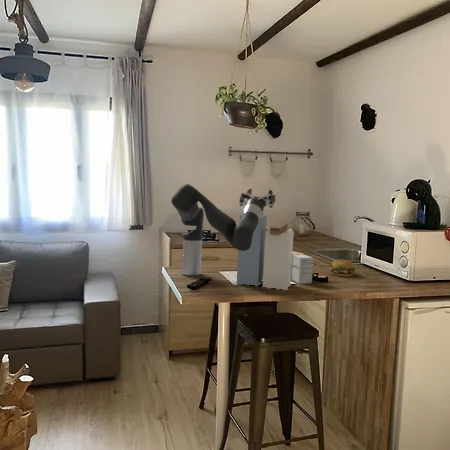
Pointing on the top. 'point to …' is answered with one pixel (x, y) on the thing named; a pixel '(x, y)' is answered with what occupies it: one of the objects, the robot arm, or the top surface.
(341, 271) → the food
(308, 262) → the supplement box
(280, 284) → the end-cap post
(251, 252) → the slate stand
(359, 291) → the top surface
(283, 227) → the walnut slat
